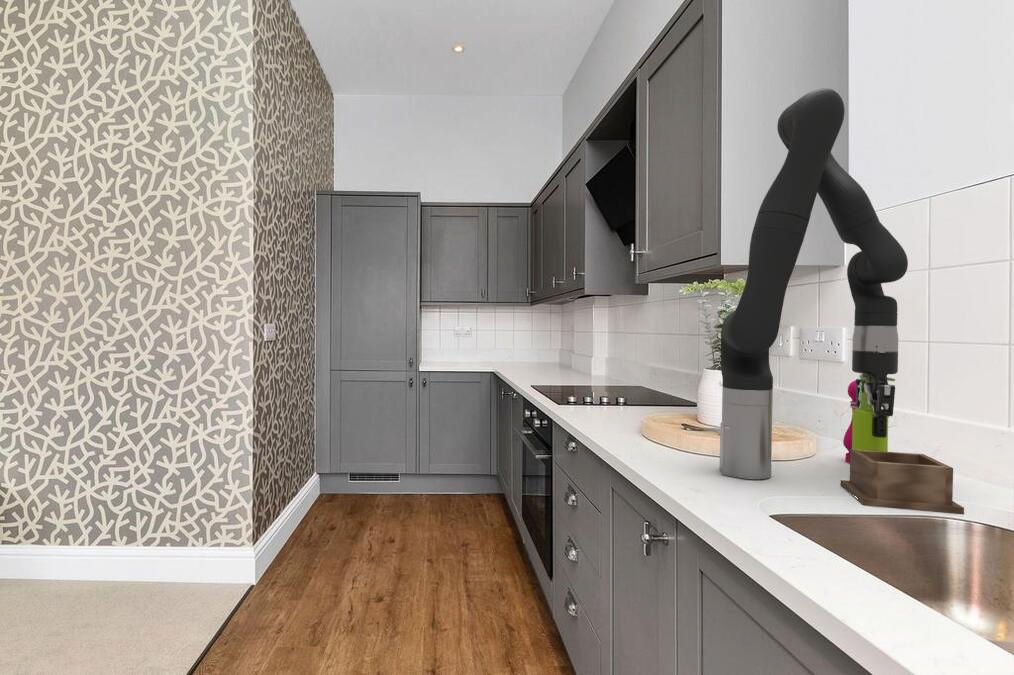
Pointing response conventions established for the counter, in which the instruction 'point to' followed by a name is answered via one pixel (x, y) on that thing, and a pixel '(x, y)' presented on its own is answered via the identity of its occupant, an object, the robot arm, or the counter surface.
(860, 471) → the box
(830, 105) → the robot arm
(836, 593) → the counter surface
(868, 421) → the soap dispenser
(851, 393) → the pepper mill
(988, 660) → the counter surface
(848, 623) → the counter surface
